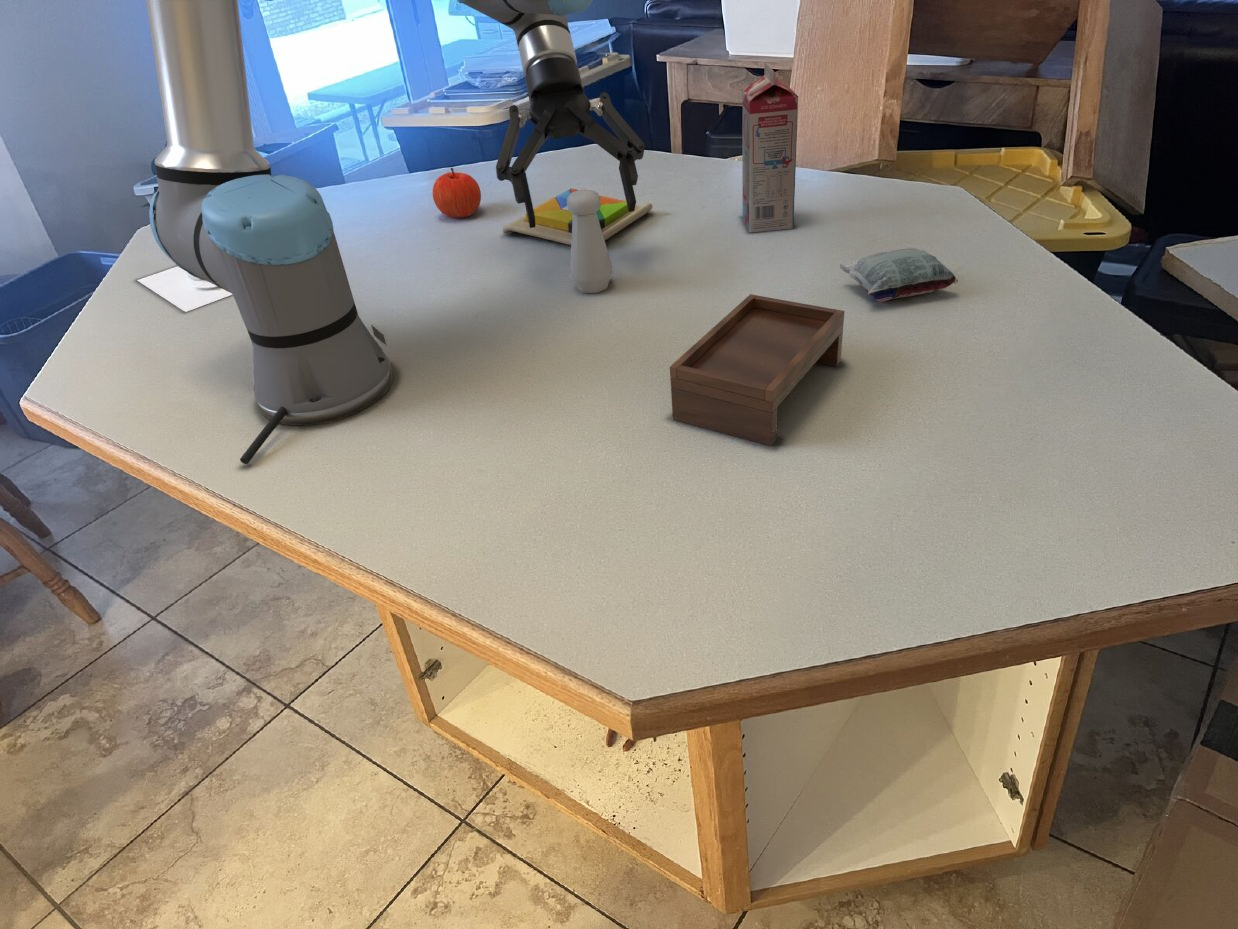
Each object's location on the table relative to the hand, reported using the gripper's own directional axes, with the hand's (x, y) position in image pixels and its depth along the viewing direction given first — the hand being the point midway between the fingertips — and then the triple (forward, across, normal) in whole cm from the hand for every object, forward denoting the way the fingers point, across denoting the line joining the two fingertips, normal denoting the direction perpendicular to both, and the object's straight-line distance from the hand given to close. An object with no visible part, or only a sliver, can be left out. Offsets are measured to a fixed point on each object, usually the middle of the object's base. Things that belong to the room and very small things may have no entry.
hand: (583, 215), depth 109 cm
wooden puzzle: (-9, -2, -22) cm, 24 cm away
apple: (-19, +16, -32) cm, 41 cm away
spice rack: (+32, -12, +19) cm, 39 cm away
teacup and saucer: (-12, +54, -26) cm, 61 cm away
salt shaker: (+8, 0, -5) cm, 10 cm away
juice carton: (0, -30, -14) cm, 33 cm away
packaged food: (+20, -36, +7) cm, 42 cm away
